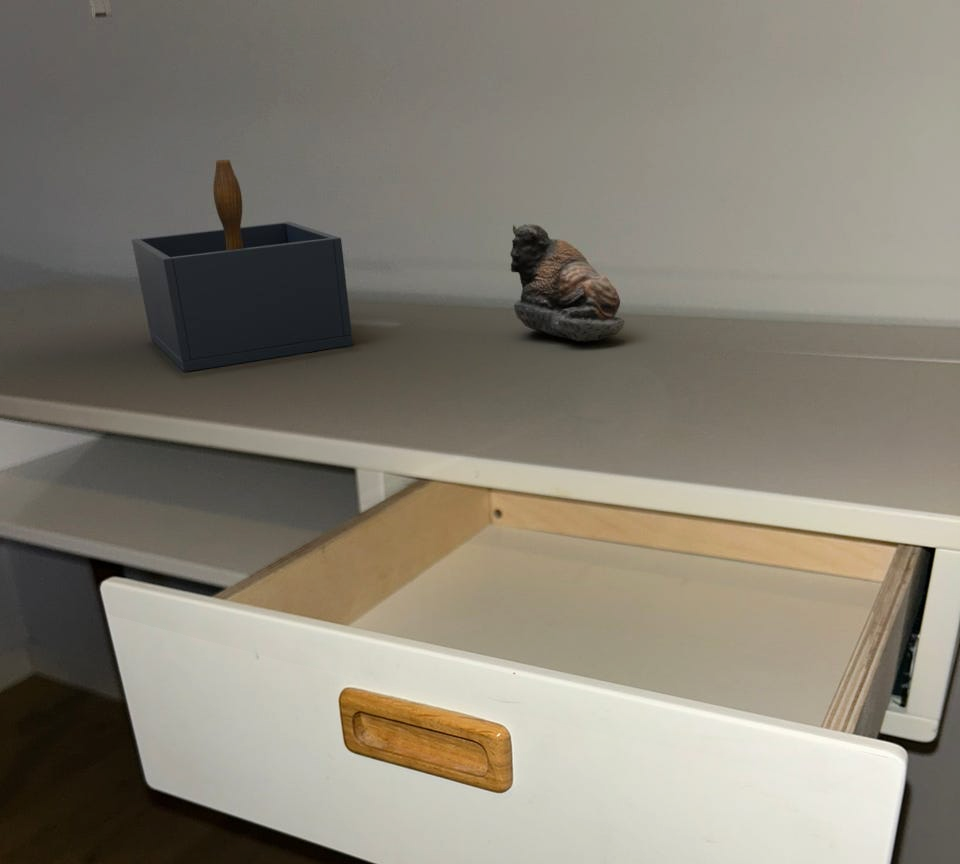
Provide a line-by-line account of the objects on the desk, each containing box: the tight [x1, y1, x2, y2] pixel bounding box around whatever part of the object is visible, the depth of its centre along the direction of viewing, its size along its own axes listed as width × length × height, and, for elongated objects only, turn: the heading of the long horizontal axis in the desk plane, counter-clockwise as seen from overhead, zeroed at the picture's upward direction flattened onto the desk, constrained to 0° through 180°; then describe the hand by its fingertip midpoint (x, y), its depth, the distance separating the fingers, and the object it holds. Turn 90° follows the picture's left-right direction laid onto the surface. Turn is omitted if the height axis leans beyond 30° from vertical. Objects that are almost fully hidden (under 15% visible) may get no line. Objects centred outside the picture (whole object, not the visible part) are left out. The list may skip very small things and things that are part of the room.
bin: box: [131, 221, 354, 373], centre depth 106 cm, size 17×17×10 cm
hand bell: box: [212, 159, 243, 250], centre depth 104 cm, size 8×8×16 cm
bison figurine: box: [509, 223, 625, 343], centre depth 100 cm, size 12×7×10 cm, turn 47°
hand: (47, 19), depth 94 cm, fingers open, 8 cm apart
